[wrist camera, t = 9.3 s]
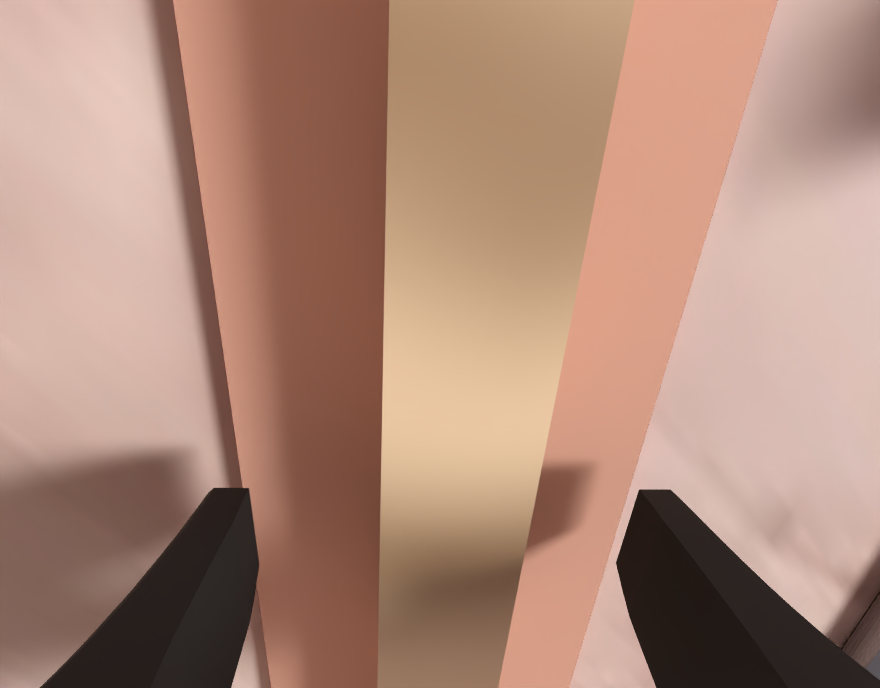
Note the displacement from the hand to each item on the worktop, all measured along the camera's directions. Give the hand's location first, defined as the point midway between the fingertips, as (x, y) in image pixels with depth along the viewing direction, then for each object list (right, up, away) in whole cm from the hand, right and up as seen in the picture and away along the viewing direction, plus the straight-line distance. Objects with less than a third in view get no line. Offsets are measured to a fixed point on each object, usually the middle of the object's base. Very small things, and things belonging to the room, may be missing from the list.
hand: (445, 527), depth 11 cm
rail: (0, +1, +1) cm, 1 cm away
